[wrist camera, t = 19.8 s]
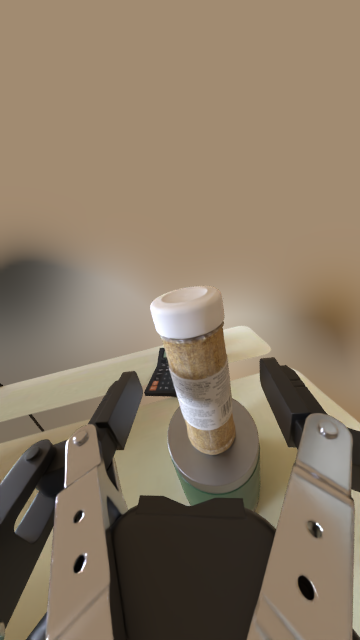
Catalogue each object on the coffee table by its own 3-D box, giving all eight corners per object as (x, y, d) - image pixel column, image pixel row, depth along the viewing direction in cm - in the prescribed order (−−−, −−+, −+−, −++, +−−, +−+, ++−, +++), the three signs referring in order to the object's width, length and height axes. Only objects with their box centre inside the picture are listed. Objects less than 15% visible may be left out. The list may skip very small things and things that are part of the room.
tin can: (168, 472, 20) (150, 430, 17) (214, 422, 25) (206, 381, 22) (227, 563, 14) (216, 523, 11) (275, 473, 18) (277, 426, 15)
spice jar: (206, 401, 19) (183, 283, 14) (245, 426, 16) (236, 284, 10) (177, 434, 16) (134, 303, 11) (217, 472, 13) (184, 313, 8)
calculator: (145, 395, 32) (140, 383, 31) (163, 357, 42) (160, 347, 41) (194, 397, 29) (191, 384, 28) (200, 355, 40) (198, 345, 38)
